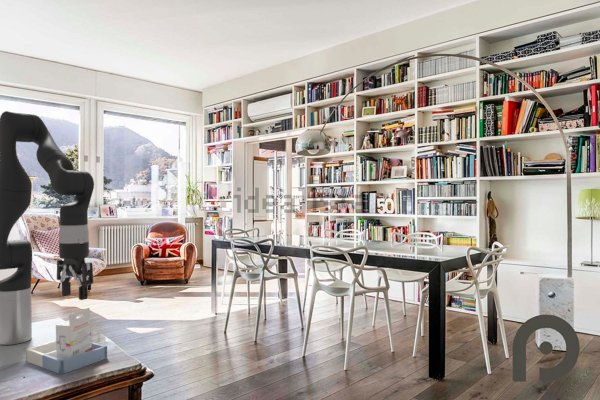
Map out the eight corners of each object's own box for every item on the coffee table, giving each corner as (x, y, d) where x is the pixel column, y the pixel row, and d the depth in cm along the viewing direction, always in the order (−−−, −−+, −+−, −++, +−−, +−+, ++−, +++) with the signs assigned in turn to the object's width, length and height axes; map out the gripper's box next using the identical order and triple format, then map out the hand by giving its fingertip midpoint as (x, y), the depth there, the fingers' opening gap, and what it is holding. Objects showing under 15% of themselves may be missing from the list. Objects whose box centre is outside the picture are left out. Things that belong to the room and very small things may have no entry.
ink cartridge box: (78, 355, 129) (77, 306, 129) (92, 357, 127) (91, 307, 127) (55, 366, 120) (54, 313, 120) (70, 368, 119) (69, 314, 119)
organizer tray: (25, 361, 125) (25, 349, 125) (71, 347, 137) (71, 335, 137) (60, 374, 115) (60, 361, 115) (107, 358, 127) (107, 346, 127)
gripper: (47, 240, 124) (47, 296, 124) (75, 243, 116) (76, 303, 117) (72, 238, 130) (73, 291, 131) (101, 240, 123) (101, 298, 123)
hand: (74, 297), depth 124 cm, fingers open, 8 cm apart
